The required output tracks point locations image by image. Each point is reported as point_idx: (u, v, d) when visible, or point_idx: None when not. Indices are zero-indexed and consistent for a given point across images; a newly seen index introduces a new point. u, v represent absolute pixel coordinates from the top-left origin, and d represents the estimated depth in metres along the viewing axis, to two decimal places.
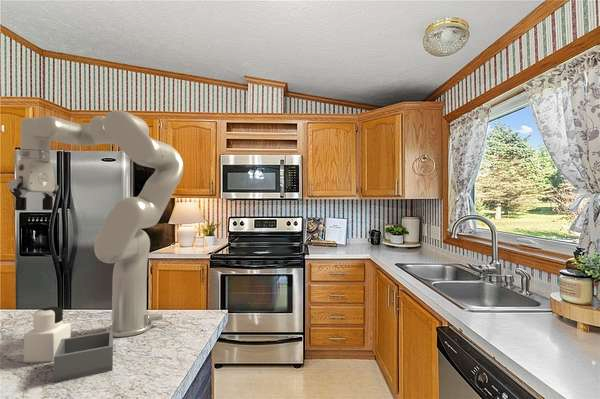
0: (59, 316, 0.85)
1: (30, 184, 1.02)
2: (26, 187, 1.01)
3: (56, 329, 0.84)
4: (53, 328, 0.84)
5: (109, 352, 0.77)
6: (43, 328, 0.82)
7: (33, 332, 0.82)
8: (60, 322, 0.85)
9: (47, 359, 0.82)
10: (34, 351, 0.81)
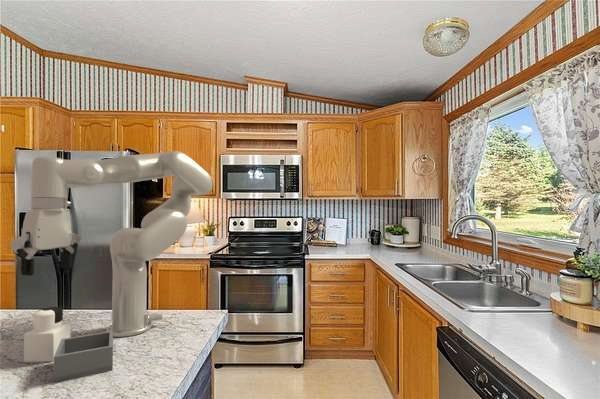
0: (59, 316, 0.85)
1: None
2: None
3: (56, 329, 0.84)
4: (53, 328, 0.84)
5: (109, 352, 0.77)
6: (43, 328, 0.82)
7: (33, 332, 0.82)
8: (60, 322, 0.85)
9: (47, 359, 0.82)
10: (34, 351, 0.81)
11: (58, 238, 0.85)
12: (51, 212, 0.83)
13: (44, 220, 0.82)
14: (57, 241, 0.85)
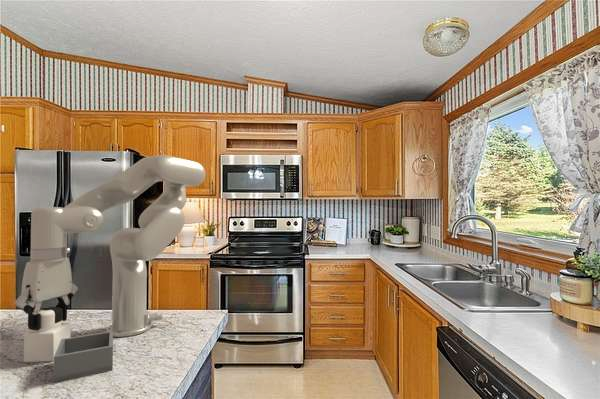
0: (59, 316, 0.85)
1: None
2: None
3: (56, 329, 0.84)
4: (53, 328, 0.84)
5: (109, 352, 0.77)
6: (43, 328, 0.82)
7: (33, 332, 0.82)
8: (60, 322, 0.85)
9: (47, 359, 0.82)
10: (34, 351, 0.81)
11: (58, 288, 0.85)
12: (51, 263, 0.83)
13: (44, 272, 0.82)
14: (57, 291, 0.85)
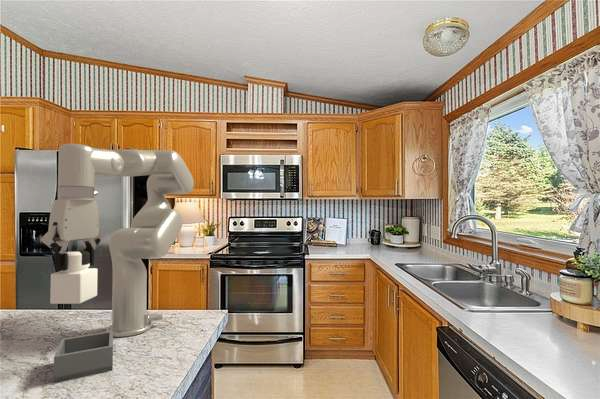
0: (86, 259, 0.81)
1: None
2: None
3: (83, 271, 0.80)
4: (80, 270, 0.80)
5: (109, 352, 0.77)
6: (70, 269, 0.79)
7: (60, 273, 0.78)
8: (87, 265, 0.82)
9: (74, 301, 0.78)
10: (61, 292, 0.78)
11: (85, 229, 0.82)
12: (78, 202, 0.80)
13: (71, 210, 0.78)
14: (84, 232, 0.81)
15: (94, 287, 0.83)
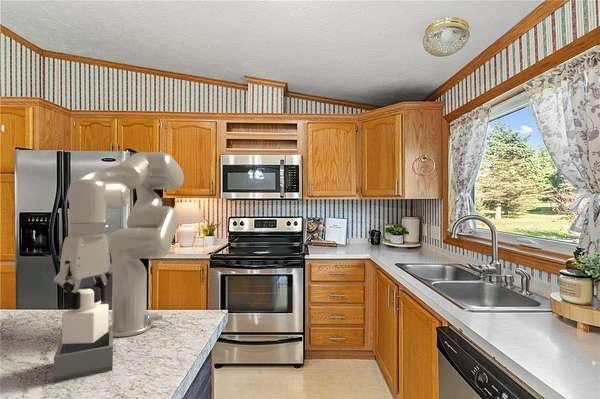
0: (98, 296, 0.80)
1: None
2: None
3: (95, 309, 0.78)
4: (92, 308, 0.78)
5: (109, 352, 0.77)
6: (82, 307, 0.77)
7: (72, 312, 0.77)
8: (99, 302, 0.80)
9: (87, 340, 0.76)
10: (73, 332, 0.76)
11: (97, 265, 0.80)
12: (90, 238, 0.78)
13: (84, 248, 0.77)
14: (96, 269, 0.80)
15: (105, 323, 0.82)
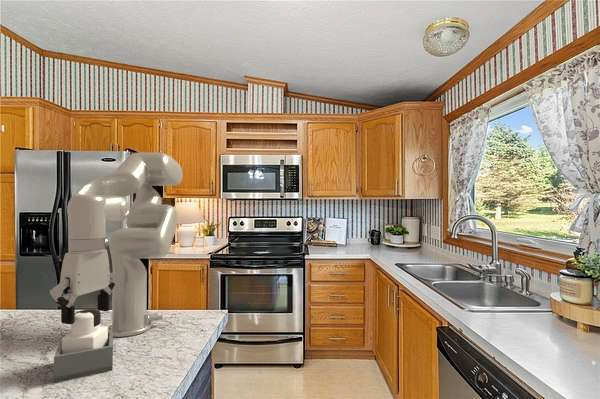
0: (98, 319, 0.80)
1: None
2: None
3: (95, 333, 0.78)
4: (92, 332, 0.79)
5: (109, 352, 0.77)
6: (82, 332, 0.77)
7: (71, 336, 0.77)
8: (99, 325, 0.80)
9: None
10: None
11: (97, 281, 0.80)
12: (90, 254, 0.78)
13: (84, 264, 0.77)
14: (96, 284, 0.80)
15: (105, 346, 0.82)
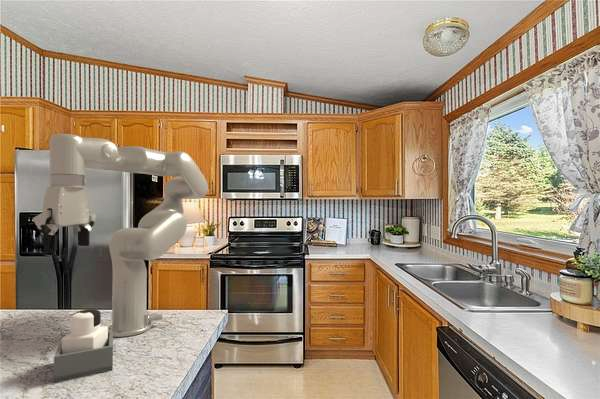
0: (98, 319, 0.80)
1: None
2: None
3: (95, 333, 0.78)
4: (92, 332, 0.79)
5: (109, 352, 0.77)
6: (82, 332, 0.77)
7: (71, 336, 0.77)
8: (99, 325, 0.80)
9: None
10: None
11: (78, 215, 0.86)
12: (71, 189, 0.84)
13: (65, 197, 0.82)
14: (77, 218, 0.86)
15: (105, 346, 0.82)
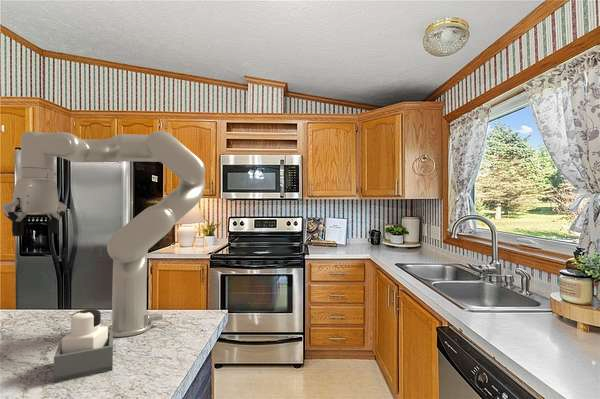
0: (98, 319, 0.80)
1: None
2: None
3: (95, 333, 0.78)
4: (92, 332, 0.79)
5: (109, 352, 0.77)
6: (82, 332, 0.77)
7: (71, 336, 0.77)
8: (99, 325, 0.80)
9: None
10: None
11: (45, 205, 0.96)
12: (39, 181, 0.94)
13: (32, 188, 0.92)
14: (45, 207, 0.95)
15: (105, 346, 0.82)
